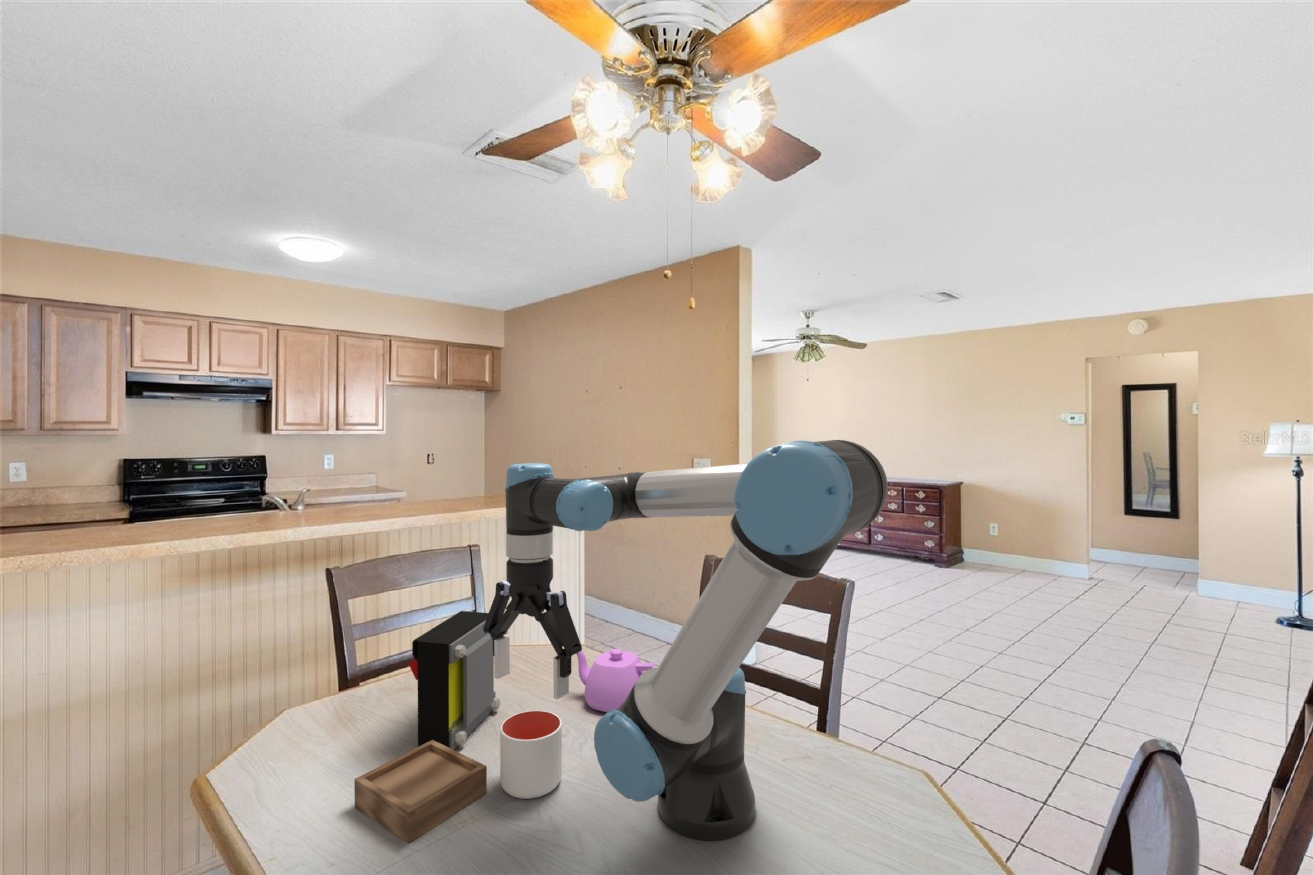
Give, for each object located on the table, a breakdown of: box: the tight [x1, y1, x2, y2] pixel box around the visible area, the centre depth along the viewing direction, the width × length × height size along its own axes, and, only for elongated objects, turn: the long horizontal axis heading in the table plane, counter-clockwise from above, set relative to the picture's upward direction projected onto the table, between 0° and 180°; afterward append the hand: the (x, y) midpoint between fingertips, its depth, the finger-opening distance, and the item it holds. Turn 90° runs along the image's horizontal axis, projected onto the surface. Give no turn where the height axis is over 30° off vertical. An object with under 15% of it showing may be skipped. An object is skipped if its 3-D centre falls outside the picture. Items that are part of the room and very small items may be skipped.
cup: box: [499, 710, 563, 800], centre depth 101 cm, size 10×10×10 cm
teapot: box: [575, 648, 656, 713], centre depth 130 cm, size 13×20×11 cm, turn 73°
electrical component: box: [408, 610, 501, 750], centre depth 119 cm, size 18×10×20 cm, turn 168°
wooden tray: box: [354, 740, 488, 844], centre depth 96 cm, size 14×14×4 cm
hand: (530, 685), depth 100 cm, fingers open, 13 cm apart
